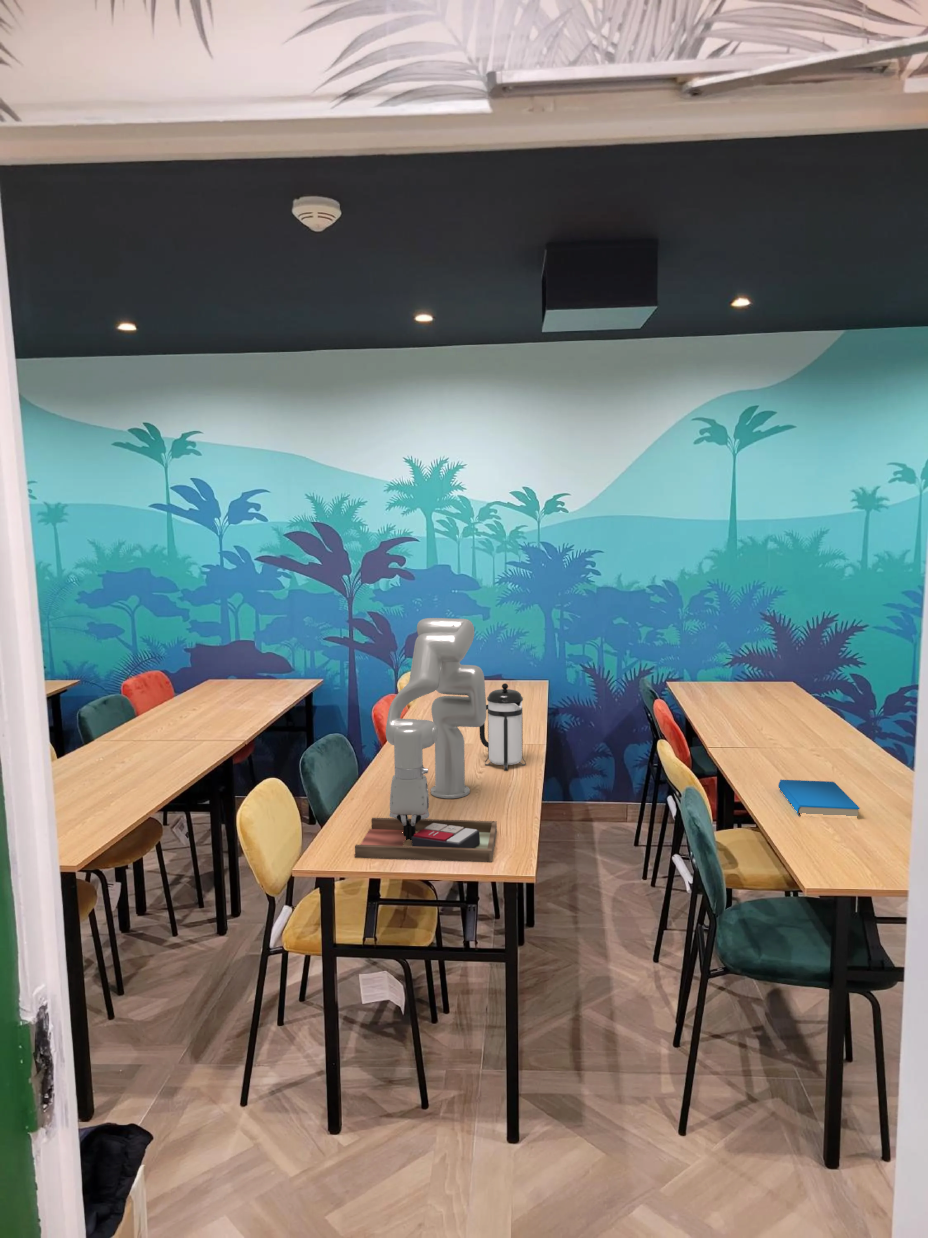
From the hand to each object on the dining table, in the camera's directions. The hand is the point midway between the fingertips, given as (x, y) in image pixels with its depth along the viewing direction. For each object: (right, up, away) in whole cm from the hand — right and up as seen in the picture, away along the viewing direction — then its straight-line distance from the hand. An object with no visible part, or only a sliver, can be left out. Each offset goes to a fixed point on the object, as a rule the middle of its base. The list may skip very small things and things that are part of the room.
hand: (409, 838), depth 213 cm
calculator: (+10, -2, -2) cm, 10 cm away
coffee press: (+28, +6, +73) cm, 79 cm away
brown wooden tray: (+5, -1, 0) cm, 5 cm away
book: (+123, +2, +29) cm, 126 cm away
